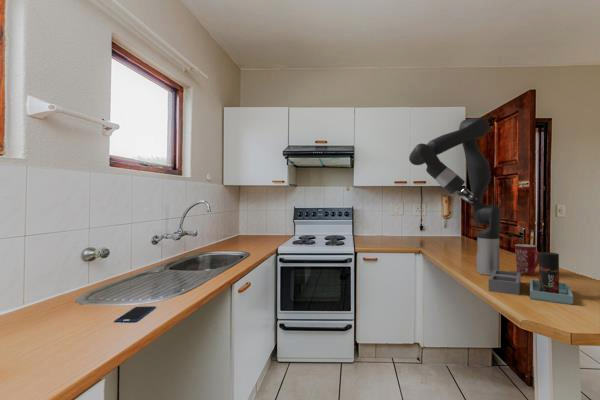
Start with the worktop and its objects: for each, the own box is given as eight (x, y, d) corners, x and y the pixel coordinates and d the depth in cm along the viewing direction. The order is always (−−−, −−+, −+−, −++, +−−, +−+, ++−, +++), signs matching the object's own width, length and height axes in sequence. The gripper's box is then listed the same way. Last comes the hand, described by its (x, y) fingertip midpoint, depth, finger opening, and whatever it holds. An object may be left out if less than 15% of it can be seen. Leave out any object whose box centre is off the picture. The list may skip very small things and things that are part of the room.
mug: (510, 271, 161) (509, 244, 161) (527, 270, 162) (527, 243, 162) (528, 277, 149) (528, 248, 149) (548, 277, 149) (547, 247, 149)
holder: (519, 295, 122) (519, 283, 122) (488, 290, 128) (488, 279, 128) (520, 282, 139) (520, 272, 139) (493, 279, 145) (493, 269, 145)
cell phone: (112, 323, 98) (112, 321, 98) (136, 308, 112) (136, 306, 112) (136, 323, 98) (136, 321, 98) (157, 308, 112) (157, 306, 112)
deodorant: (552, 291, 125) (551, 252, 125) (563, 295, 119) (562, 254, 119) (535, 290, 125) (535, 252, 125) (545, 295, 119) (545, 254, 119)
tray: (573, 305, 110) (573, 296, 110) (530, 299, 117) (529, 290, 117) (567, 291, 126) (567, 283, 126) (530, 286, 133) (530, 279, 133)
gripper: (458, 172, 129) (491, 201, 125) (454, 175, 142) (484, 201, 138) (443, 186, 131) (476, 215, 127) (441, 187, 144) (470, 213, 140)
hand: (480, 207), depth 133 cm, fingers open, 8 cm apart
